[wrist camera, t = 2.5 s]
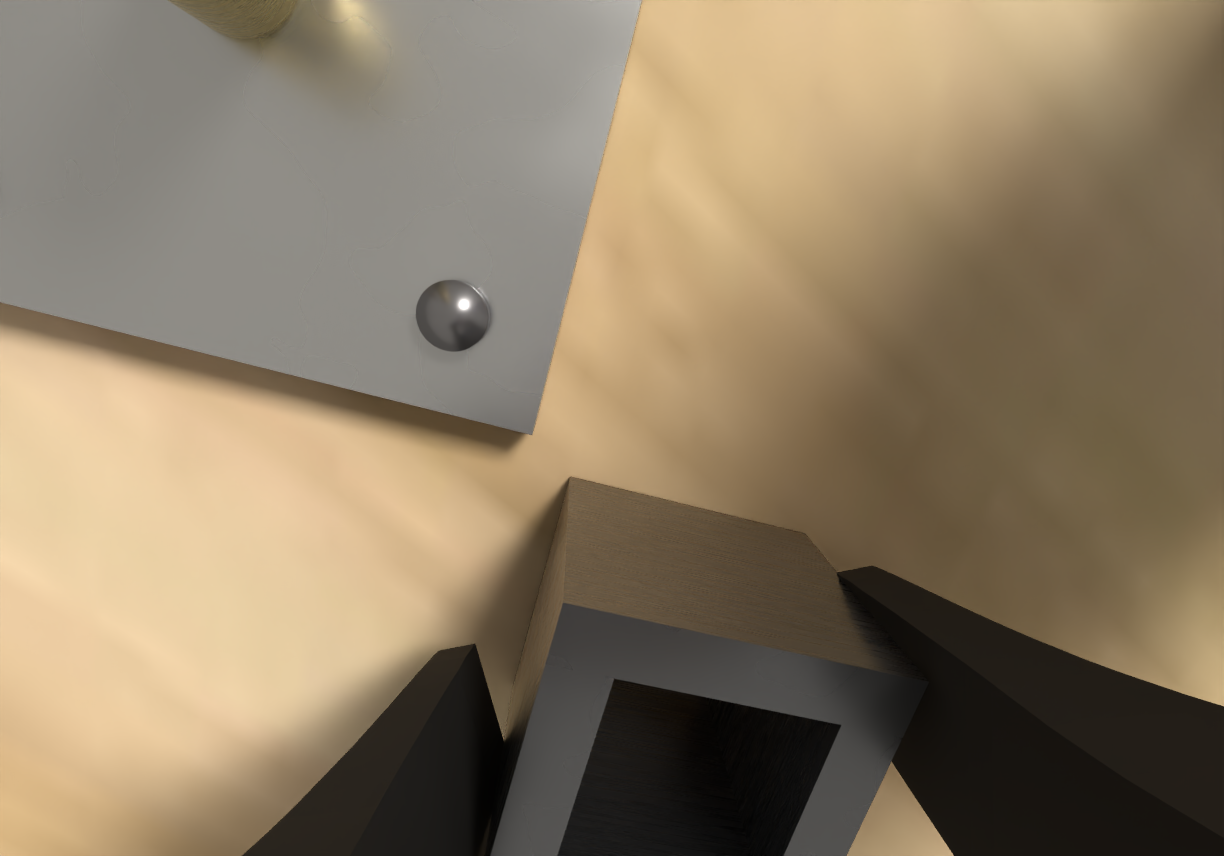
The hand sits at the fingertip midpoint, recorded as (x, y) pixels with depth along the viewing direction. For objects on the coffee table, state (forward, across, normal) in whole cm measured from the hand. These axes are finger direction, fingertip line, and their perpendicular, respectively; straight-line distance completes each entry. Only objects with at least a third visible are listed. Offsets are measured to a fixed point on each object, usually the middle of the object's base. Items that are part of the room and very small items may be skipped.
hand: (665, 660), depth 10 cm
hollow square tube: (+1, 0, 0) cm, 1 cm away
